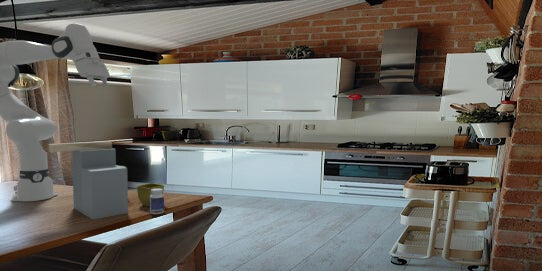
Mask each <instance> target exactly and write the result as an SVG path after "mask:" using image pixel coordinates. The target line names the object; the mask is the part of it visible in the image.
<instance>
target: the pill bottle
mask: <svg viewBox="0 0 542 271" xmlns="http://www.w3.org/2000/svg"><path fill="white" fill-rule="evenodd" d="M162 192H163V194H162ZM151 193H152V194H151V195H150V206H149V213H150V214H151V215H160V214H163V213H164V212H165V195H164V191H163V189H159V188H158V189H152V190H151Z"/></svg>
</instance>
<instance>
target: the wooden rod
mask: <svg viewBox="0 0 542 271" xmlns="http://www.w3.org/2000/svg"><path fill="white" fill-rule="evenodd" d="M112 142H113V141H110V140H106V141H104V140H103V141H87V142H86V141H84V142H83V141H82V142H68V143H67V142H64V143H60V142H59V143H47V151H48V152H49V153H57V152H61V153H62V152H72V151H78V150H94V149H109V148H113V143H112ZM48 152H47V153H48Z"/></svg>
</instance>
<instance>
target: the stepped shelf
mask: <svg viewBox="0 0 542 271" xmlns="http://www.w3.org/2000/svg"><path fill="white" fill-rule="evenodd" d="M116 154H117V153H116V148H113V147H112V148H109V149H94V150H78V151H71V156H72V158H71V160H72V163H71V164H72V191H73V194H72V195H73V209H75V210H76V211H77V212H79V213H82V214H83V215H84V216H85V217H86V216H87V217H88V218H89V219H91V220H98V219H104V218H107V217H114V216H119V215H120V216H121V215H124V214H128V213H129V195H128V191H129V190H128V188H129V186H128V167H122V166H123V165H117V162H116V161H117V160H116V158H117V157H116V156H117V155H116Z"/></svg>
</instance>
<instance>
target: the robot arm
mask: <svg viewBox="0 0 542 271" xmlns="http://www.w3.org/2000/svg"><path fill="white" fill-rule="evenodd" d="M93 43H94V42H93V39H92V36H91V34H90V32H89V29H87V27H86V26H85V25H84V24H82V23H70V24H68V25H66V27H65V29H64V32H62V34H61V35H60V36H59V37H57V38H55V39H54V40H53V41H52V43H51V45H49V44H42V43H37V42H33V41H28V40H7V41H3V42H0V117H1V118H2V119H3V120H4V121H5V122H7V123H8V124H7V125H6V127H5V134H6V136H7V137H8V139H9V140H11V141H12V142H13V143H14V144H15V146H16V149H17V150H18V155H19V163H20V164H19V165H20V170H19V174H18V175H19V180H18V181H17V183H16V184H15V185H14V186H13V191H15V192H14V193H13V194H12V197H11V202H36V201H43V200H48V199H51V198H53V197H57V196H58V193H57V192H55V189H54V181H53V179H52V178H51V177H50V169H49V168H48V167H49V165H48V162H49V161H48V152H47V151H46V150H44V149H43V148H42V146H41V143H40V142H41V141H45V140H48V139H50V138H53V137H54V136H55V135H56V134H57V131H58V127H57V124H56V123H55V122H54V120H52V119H49V118H47V117H45V116H43V115H41V114H40V113H38V112H36V111H35V110H33V109H32V108H31V107H29V106H28V105H26V104H25V103H23V101H22V100H21V99H20V98H18V96H16V95H15V94H14V93H13V92H12V91H11V90H10V89H9V88H11V87H13V86H14V85H15V83H16V82H17V81H18V79H19V77H20V69H19V67H18V65H19V66H20V65H25V64H32V63H37V62H42V61H43V62H44V61H47V60H57V59H58V60H60V59H63V60H69V61H72V63H74V66H75V68H76V71H77V73H78V75H79V76H80V77H82V78H86V79H87V81H88V82H89V83H90V85H91V87H97V85H98V84H97V81H95V79H99V80H100V81H102V83H101V85H102V87H103V88H107V87H108V86H109V85H108V80H107V79H108V78H110V72H109V70H108V68H107V66H106V64H105V63H104V62H102V61H101V58H100V55H99V54H98V50H97V48H96V47H95V45H94V44H93Z"/></svg>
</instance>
